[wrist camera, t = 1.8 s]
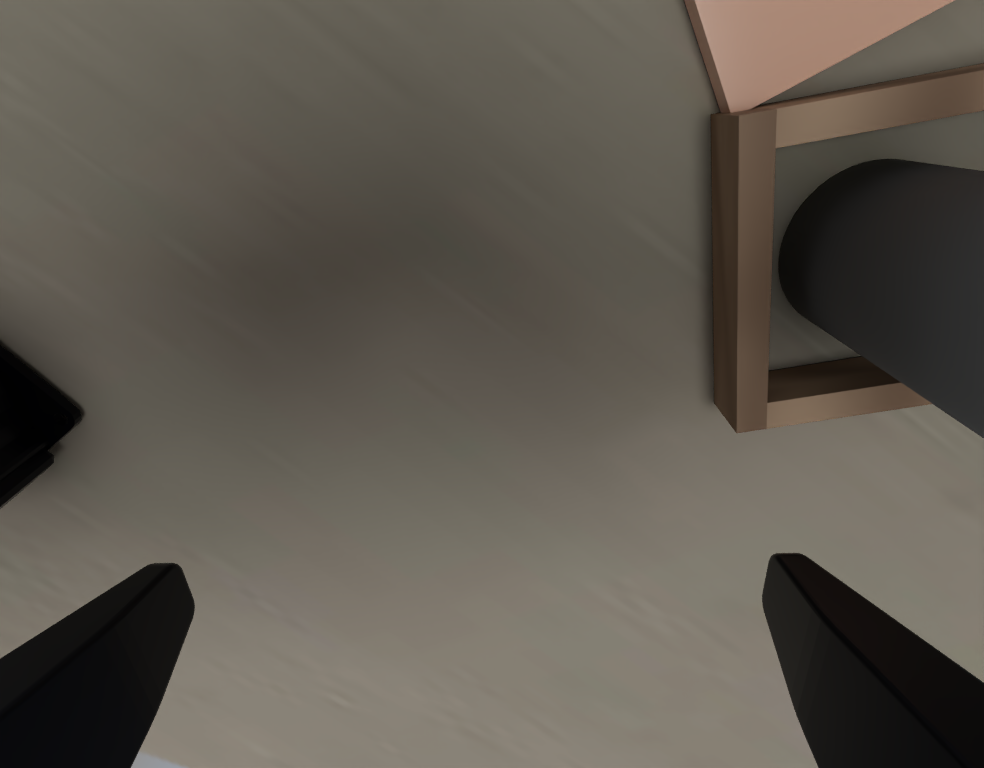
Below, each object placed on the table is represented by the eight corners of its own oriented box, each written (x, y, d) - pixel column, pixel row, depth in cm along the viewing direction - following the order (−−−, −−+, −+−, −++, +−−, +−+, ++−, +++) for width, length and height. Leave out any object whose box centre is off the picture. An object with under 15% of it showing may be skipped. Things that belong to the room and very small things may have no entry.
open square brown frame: (714, 403, 22) (736, 433, 20) (710, 114, 18) (739, 115, 16) (992, 360, 21) (1044, 387, 19) (1058, 49, 17) (1134, 41, 15)
